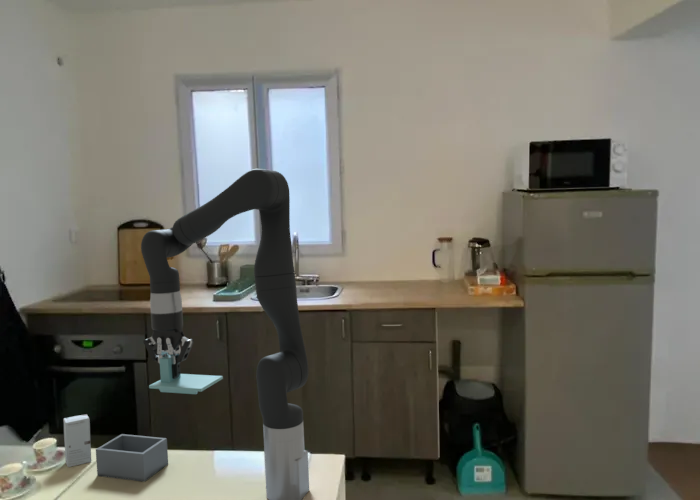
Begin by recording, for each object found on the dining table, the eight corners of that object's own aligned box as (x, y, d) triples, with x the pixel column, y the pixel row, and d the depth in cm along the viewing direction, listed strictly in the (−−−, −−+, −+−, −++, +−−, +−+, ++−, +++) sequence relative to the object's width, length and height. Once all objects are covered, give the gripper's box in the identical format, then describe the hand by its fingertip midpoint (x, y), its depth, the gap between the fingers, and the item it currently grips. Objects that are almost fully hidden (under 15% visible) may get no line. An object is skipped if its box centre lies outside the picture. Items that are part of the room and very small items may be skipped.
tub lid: (223, 383, 147) (221, 352, 147) (201, 396, 137) (199, 363, 137) (173, 380, 152) (172, 350, 151) (149, 393, 142) (147, 361, 141)
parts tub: (168, 464, 153) (166, 438, 152) (144, 481, 143) (142, 454, 143) (123, 459, 157) (121, 434, 156) (97, 475, 147) (95, 449, 147)
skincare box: (67, 468, 152) (64, 423, 152) (65, 462, 156) (62, 418, 155) (92, 461, 156) (89, 417, 155) (89, 456, 160) (86, 413, 159)
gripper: (199, 307, 146) (202, 374, 147) (151, 306, 150) (155, 372, 151) (182, 313, 139) (186, 383, 140) (133, 311, 143) (137, 380, 144)
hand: (170, 377), depth 146 cm, fingers closed on tub lid, 2 cm apart
